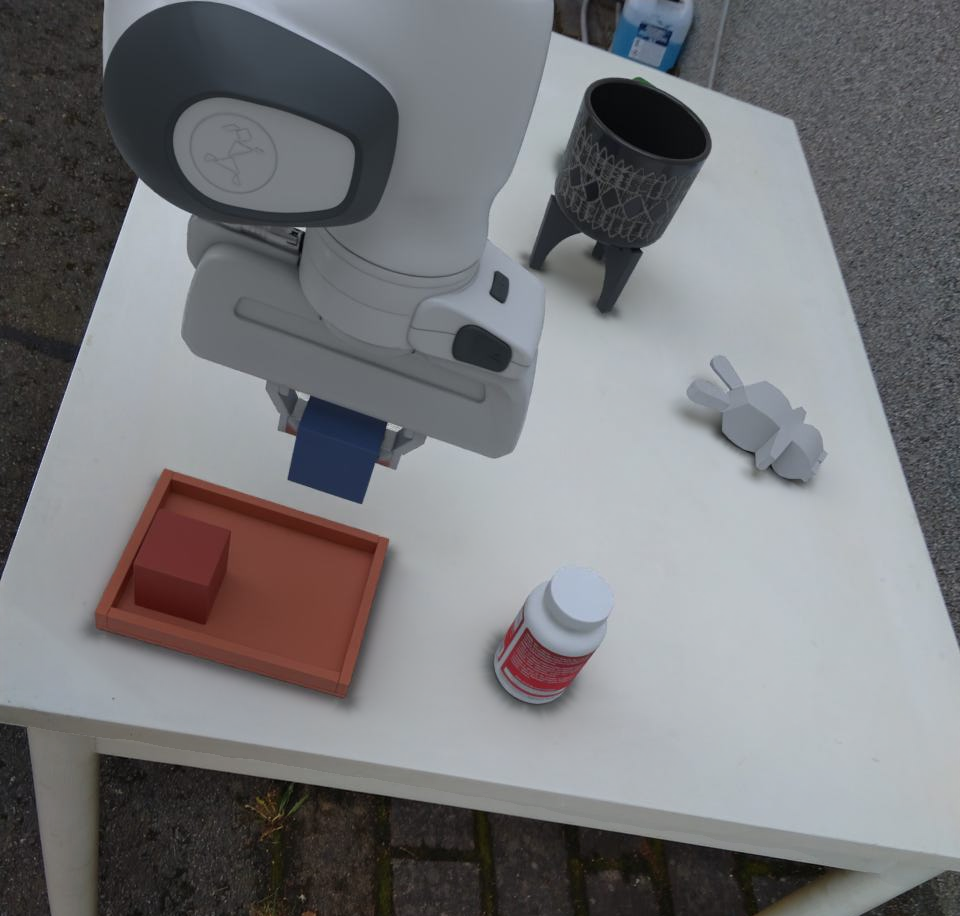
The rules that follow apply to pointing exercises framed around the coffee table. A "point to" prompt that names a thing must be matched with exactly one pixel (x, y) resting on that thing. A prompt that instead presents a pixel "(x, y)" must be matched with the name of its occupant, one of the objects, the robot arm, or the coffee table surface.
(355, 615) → the red tray
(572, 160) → the planter
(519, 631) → the pill bottle
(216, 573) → the red block
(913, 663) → the coffee table surface
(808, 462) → the bunny figurine
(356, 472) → the blue block
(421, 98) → the robot arm
